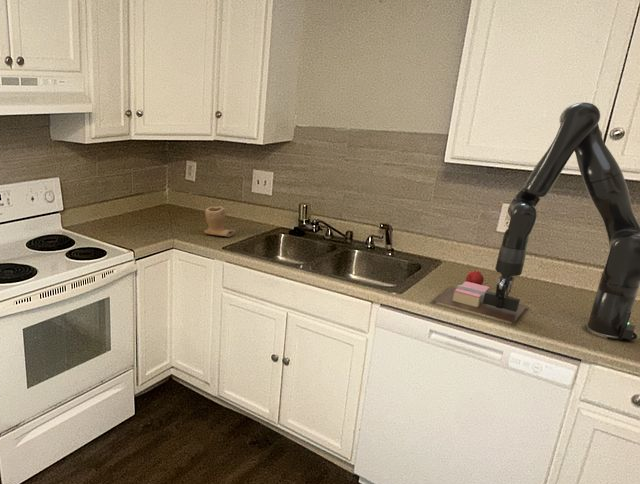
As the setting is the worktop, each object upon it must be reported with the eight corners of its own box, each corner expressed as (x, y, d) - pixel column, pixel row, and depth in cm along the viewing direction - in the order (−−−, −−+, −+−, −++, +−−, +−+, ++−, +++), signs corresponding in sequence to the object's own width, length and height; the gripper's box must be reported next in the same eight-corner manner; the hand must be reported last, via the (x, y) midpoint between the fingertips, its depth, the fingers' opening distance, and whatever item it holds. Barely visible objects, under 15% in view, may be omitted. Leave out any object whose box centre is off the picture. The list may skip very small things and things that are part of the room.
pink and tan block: (479, 305, 184) (482, 294, 182) (477, 307, 181) (479, 296, 180) (455, 298, 189) (457, 288, 188) (452, 300, 187) (454, 290, 186)
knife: (517, 309, 177) (520, 299, 176) (515, 311, 176) (518, 301, 174) (456, 294, 190) (458, 284, 189) (454, 295, 188) (456, 285, 187)
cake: (487, 297, 191) (490, 287, 189) (480, 303, 184) (483, 293, 183) (463, 291, 196) (465, 281, 195) (456, 297, 190) (458, 287, 189)
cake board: (526, 308, 184) (527, 305, 184) (513, 325, 170) (513, 322, 170) (450, 289, 201) (450, 286, 200) (432, 303, 187) (432, 300, 187)
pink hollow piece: (199, 235, 268) (200, 207, 263) (210, 230, 278) (211, 203, 273) (226, 240, 260) (227, 211, 256) (236, 235, 270) (238, 207, 265)
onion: (465, 284, 205) (469, 265, 203) (482, 288, 202) (486, 268, 199) (463, 288, 201) (466, 269, 199) (480, 292, 197) (484, 272, 195)
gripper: (519, 266, 167) (507, 315, 173) (528, 257, 177) (517, 304, 182) (492, 261, 172) (482, 308, 178) (503, 252, 182) (493, 298, 187)
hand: (500, 306), depth 180 cm, fingers closed on knife, 2 cm apart
